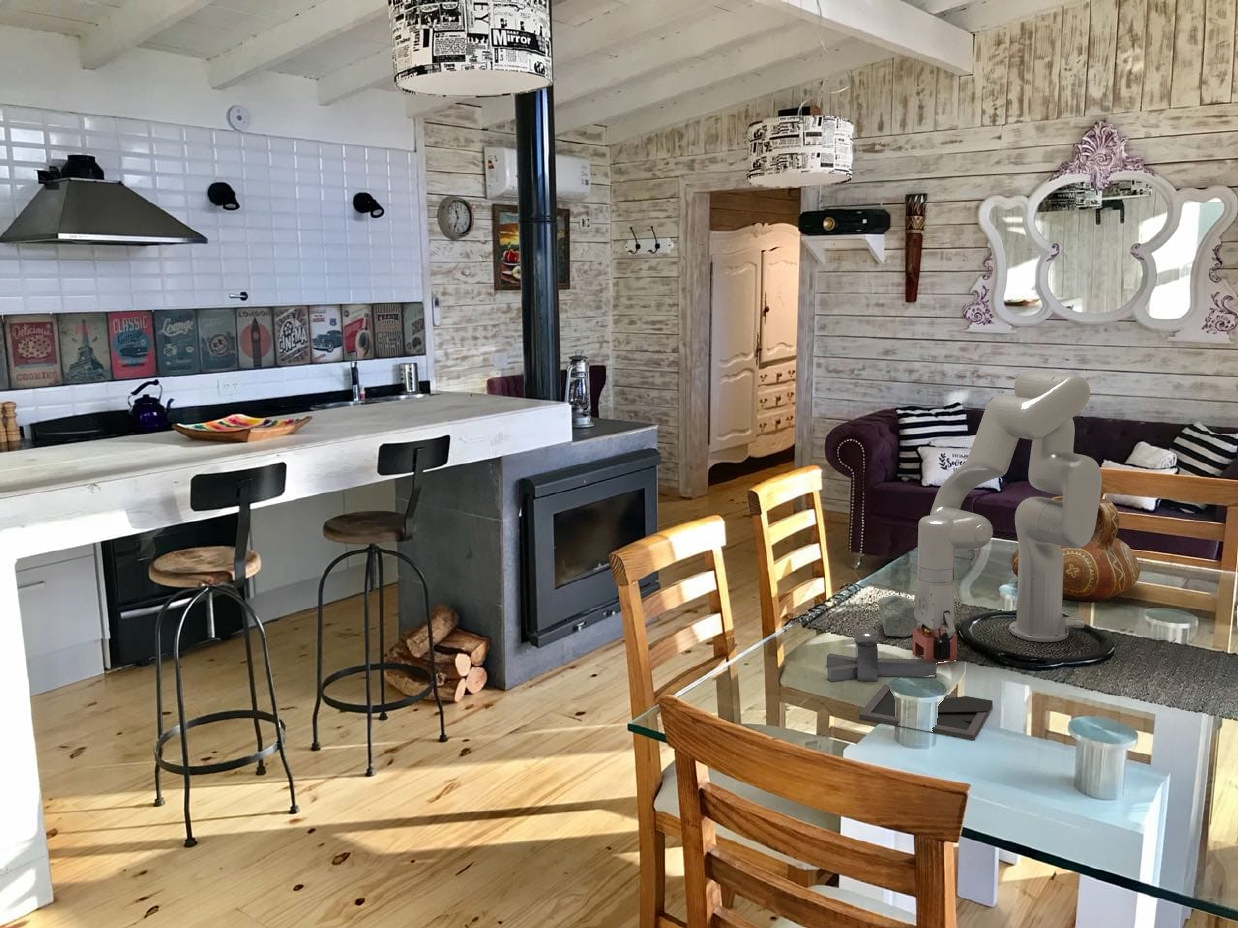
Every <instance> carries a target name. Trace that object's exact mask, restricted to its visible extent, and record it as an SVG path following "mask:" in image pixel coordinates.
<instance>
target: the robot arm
mask: <svg viewBox="0 0 1238 928" xmlns="http://www.w3.org/2000/svg"><path fill="white" fill-rule="evenodd" d="M1014 381H1015V382H1014V385H1013V387H1014V388H1013V389H1014V394H1015V396H1011V395H1002V396H997V397H994V398H992V399H991V400H990V401H988V403H987V405H986V407H985V410H984V412H983V414H982V417H981V419H980V420H981V421H980V423H979V426H978V429H977V431H976V434H975V438H974V440H973V443H972V445H971V448H970V451H969V454H968V457H967V458H966V460H965V461H964V463H963V464H962V465H961V466H959V467H958V468H957V469H956V470H954V471H953V472H952V473H951V475H949V476H948V478H947V479H946V480H945V481H943V483H942V485H941V486H940V487H939V489H938V491H937V493H936V496H935V499H934V502H933V504H932V507H931V510H930V514H929V515H926V516H923V517H921V518H920V520H919V521H918V531H917V534H918V535H917V579H916V583H915V590H914V602H913V604H914V616H915V618H916V619H917V620H918V621H919V625H918V627H919V628H922V627H928V628H930V629H931V630H935V631H936V636H937V641H938V642H935V659H936V660H945V659H950V642H951V641H952V638H953V635H954V634H956V631H957V630H956V627H955V594H954V582H955V560H956V559H955V558H956V557H955V556H956V555H955V554H956V553H955V551H956V550H977V549H981V548H983V547H985V546H986V545H988V544H989V542H990V541H991V540H992V537H993V535H994V527H993V525H992V524H991V521H990V520H989V519H988V518H986V517H985V516H983V515H980V514H978V513H974V512H970V511H966V510H962V509H961V507H962V504H963V502H964V500H965V499H966V497H967V496H968V494H969V493H970V492H972V491H973V489H975V488H976V487H978V486H979V485H982V484H984V483H987V482H989V481H992V480H995V479H997V478H1001V477H1003V476H1005V475H1006V473H1007V472H1008V470H1009V467H1010V464H1011V461H1012V458H1013V455H1014V452H1015V450H1016V447H1017V444H1018V442H1019V439H1025V440H1031V441H1032V442H1031V450H1030V455H1029V457H1030V458H1029V464H1028V466H1029V467H1028V481H1029V484H1030V486H1032V487H1033V488H1035V489H1036V490H1038V491H1041V492H1046V493H1050V494H1054V495H1058V496H1063V502H1062V501H1059V500H1054V499H1051V497H1050V498H1049V497H1046V496H1045V497H1044V496H1030V497H1028V498H1025V499H1024V500H1022V501H1021V502H1020V503H1019V504H1018V506H1017V508H1016V510H1015V513H1014V524H1015V530H1016V531H1015V532H1016V536H1017V542H1018V543H1017V544H1018V545H1017V546H1018V548H1019V562H1018V577H1017V593H1016V594H1017V597H1016V621H1012V622H1011V623H1010V624H1009V625H1008V631H1009V633H1010V632H1011V633H1012V634H1011V633H1010V634H1011V635H1013V636H1014V635H1015V636H1014V637H1016V636H1017V637H1016V638H1019V639H1022V640H1026V641H1030V642H1040V643H1052V642H1053V643H1054V642H1060V641H1063V640H1065V639H1067V638H1068V637H1069V629H1070V628H1075V629H1084V628H1085V620H1084V619H1082V618H1081V619H1077V618H1076V617H1075V616H1065V615H1063V600H1062V596H1063V572H1064V557H1063V552H1062V549H1061V546H1063V547H1067V548H1073V549H1077V548H1082V547H1084V546H1085V545H1086V544H1088V543H1089V541H1090V540H1091V538H1092V536H1093V534H1094V530H1095V526H1096V520H1097V514H1098V507H1099V500H1100V498H1101V493H1102V484H1103V475H1102V471H1101V467H1100V466H1099V464H1098V462H1097V461H1096V460H1095V459H1094V458H1093V457H1090V456H1088V455H1084V454H1078V453H1074V445H1075V431H1076V429H1075V421H1074V420H1073V418H1075V416H1077V415H1078V414H1080V413H1081V412H1082V411H1083V410H1084V409H1085V408H1086V406H1087V404H1088V403H1089V400H1090V396H1091V388H1090V384H1089V383H1088V381H1087V380H1086V379H1085V378H1084V377H1082V376H1081V375H1077V374H1073V373H1065V372H1064V373H1063V372H1054V371H1045V370H1028V371H1024V372H1022V373H1020V374H1019V375H1018V376H1017V377H1016V379H1015V380H1014ZM941 625H943V626H944V627H940V626H941ZM942 630H945V633H943V634H942V636H941V632H940V631H942Z"/></svg>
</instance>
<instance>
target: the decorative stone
mask: <svg viewBox="0 0 1238 928" xmlns="http://www.w3.org/2000/svg"><path fill="white" fill-rule="evenodd" d="M877 604H878V610H879V613H880V618H881V623H882V627H883V632H884V635H885V636H886V637H888V636H890V637H899V638H906V637H910V636H913V628H919V627H918V625H919V621H918V620H917V619H916V618H915V616H914V602H913V601H912V600H911V599H910V598H909V597H906V596H901V595H888V596H885V597H882V598H879V599H878V600H877Z"/></svg>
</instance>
